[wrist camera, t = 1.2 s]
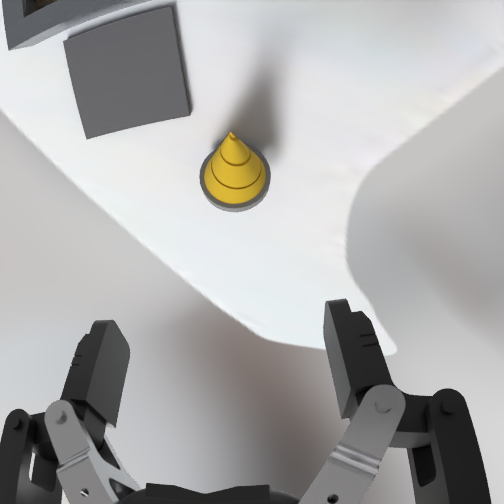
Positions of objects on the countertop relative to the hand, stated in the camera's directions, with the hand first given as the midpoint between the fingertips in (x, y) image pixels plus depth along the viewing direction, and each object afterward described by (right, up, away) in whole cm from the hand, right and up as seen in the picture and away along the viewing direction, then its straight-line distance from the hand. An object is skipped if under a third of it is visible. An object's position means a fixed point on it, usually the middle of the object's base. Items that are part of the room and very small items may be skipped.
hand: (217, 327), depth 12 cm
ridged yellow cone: (-1, +11, +14) cm, 18 cm away
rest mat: (-8, +16, +9) cm, 21 cm away
